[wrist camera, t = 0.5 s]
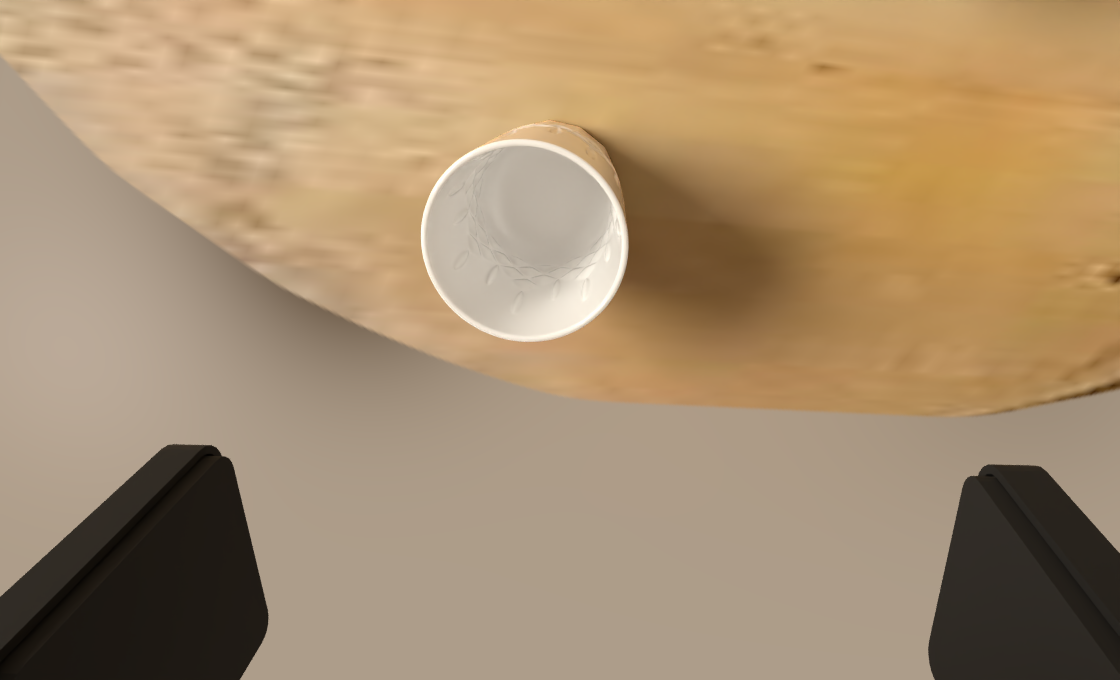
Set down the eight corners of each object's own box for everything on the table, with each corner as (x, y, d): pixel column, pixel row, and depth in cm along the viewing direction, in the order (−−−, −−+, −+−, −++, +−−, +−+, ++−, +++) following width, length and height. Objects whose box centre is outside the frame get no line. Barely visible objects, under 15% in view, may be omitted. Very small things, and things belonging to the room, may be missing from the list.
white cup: (663, 177, 37) (672, 232, 27) (564, 294, 39) (542, 379, 30) (535, 72, 35) (500, 92, 26) (443, 201, 38) (381, 260, 29)
